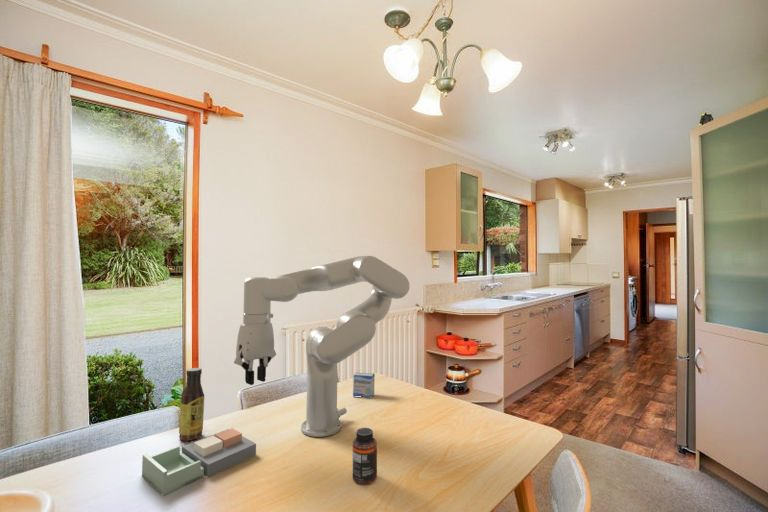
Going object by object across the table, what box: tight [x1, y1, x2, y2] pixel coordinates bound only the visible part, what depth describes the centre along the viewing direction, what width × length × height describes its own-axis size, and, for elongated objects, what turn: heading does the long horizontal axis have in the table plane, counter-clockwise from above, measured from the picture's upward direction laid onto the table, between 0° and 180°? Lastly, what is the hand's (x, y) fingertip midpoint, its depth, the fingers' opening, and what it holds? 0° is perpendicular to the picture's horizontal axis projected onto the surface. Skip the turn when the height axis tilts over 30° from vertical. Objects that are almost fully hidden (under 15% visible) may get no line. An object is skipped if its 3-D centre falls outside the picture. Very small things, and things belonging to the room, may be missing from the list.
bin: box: [141, 445, 205, 496], centre depth 86 cm, size 9×12×5 cm
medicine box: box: [352, 371, 376, 398], centre depth 141 cm, size 8×4×9 cm, turn 81°
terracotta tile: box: [214, 427, 243, 448], centre depth 97 cm, size 5×5×2 cm
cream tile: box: [193, 435, 223, 457], centre depth 93 cm, size 5×5×2 cm
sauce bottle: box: [178, 367, 205, 442], centre depth 106 cm, size 6×6×20 cm
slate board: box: [181, 428, 257, 478], centre depth 95 cm, size 13×14×3 cm
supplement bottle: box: [352, 427, 378, 486], centre depth 86 cm, size 6×6×11 cm
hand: (255, 381), depth 104 cm, fingers open, 3 cm apart
